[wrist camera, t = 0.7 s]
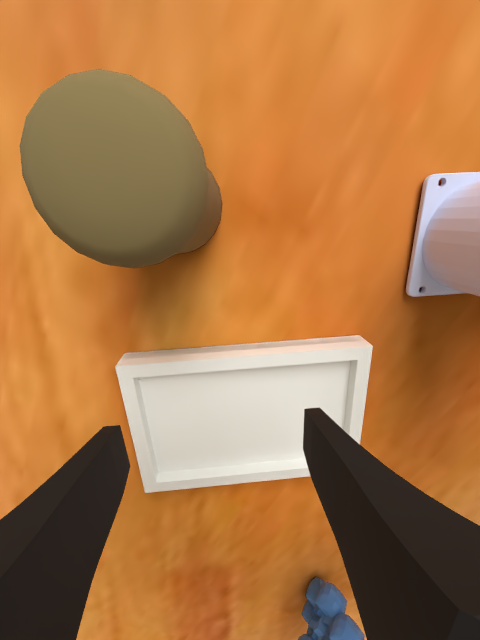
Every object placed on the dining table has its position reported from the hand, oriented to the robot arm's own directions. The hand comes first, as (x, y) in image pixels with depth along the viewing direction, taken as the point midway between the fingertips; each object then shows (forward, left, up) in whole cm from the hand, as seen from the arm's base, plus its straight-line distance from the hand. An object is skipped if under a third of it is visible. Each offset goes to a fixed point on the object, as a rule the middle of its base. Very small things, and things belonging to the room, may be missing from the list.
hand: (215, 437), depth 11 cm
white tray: (-2, +7, -10) cm, 13 cm away
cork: (+2, -9, -10) cm, 14 cm away
